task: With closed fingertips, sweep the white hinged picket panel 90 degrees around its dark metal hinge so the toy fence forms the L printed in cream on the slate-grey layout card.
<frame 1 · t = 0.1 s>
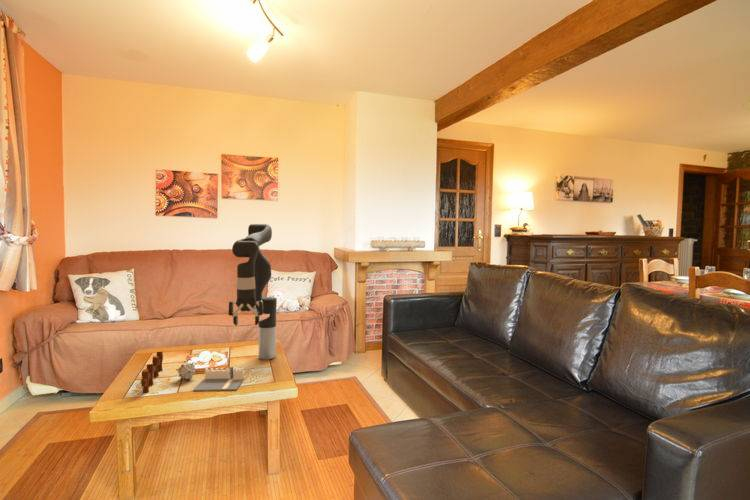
hand: (246, 324, 169), 29 cm above the table, fingers open, 8 cm apart
hinged panel: (219, 372, 182), point 4 cm above the table, hinge at 0.0°
fixed panel: (238, 379, 182), resting on layout card
grey spiky ball: (187, 379, 183), on the table
layout card: (219, 384, 176), on the table
fence: (153, 381, 181), on the table
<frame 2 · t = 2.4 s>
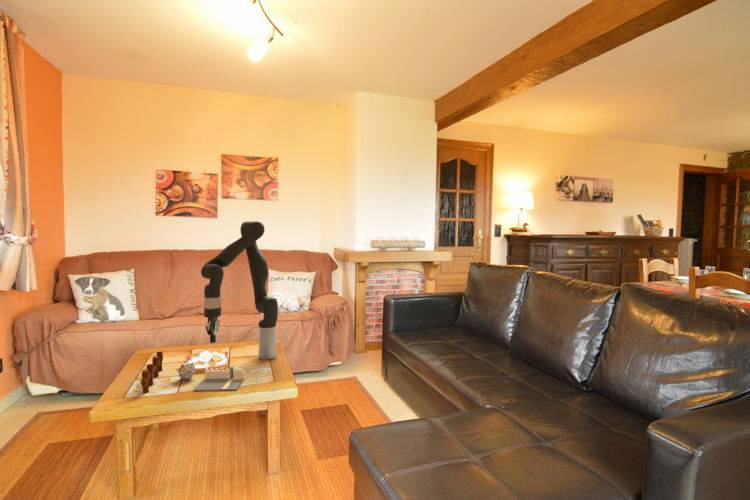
hand: (212, 342, 186), 16 cm above the table, fingers closed
nothing on the table moved.
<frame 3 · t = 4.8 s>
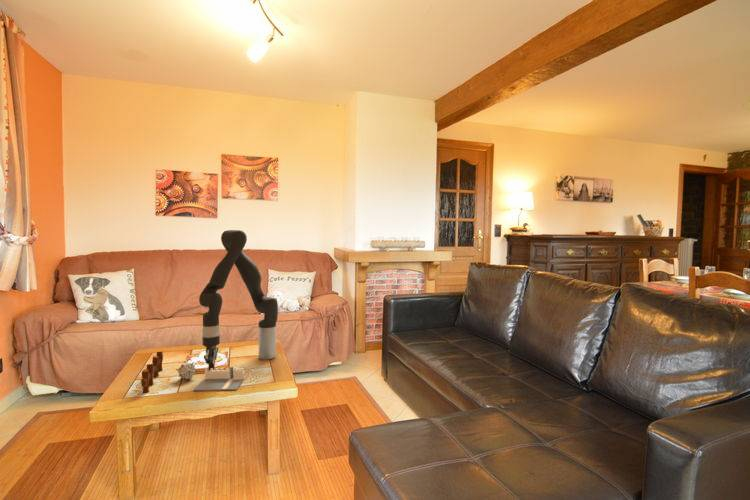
hand: (211, 370, 184), 4 cm above the table, fingers closed
hinged panel: (219, 372, 182), point 4 cm above the table, hinge at 0.0°, touching gripper
everything else where it was.
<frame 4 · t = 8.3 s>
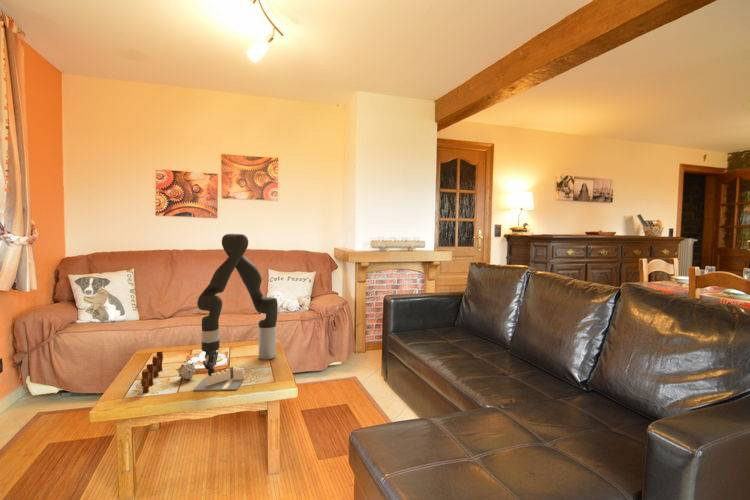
hand: (211, 376, 177), 3 cm above the table, fingers closed
hinged panel: (220, 376, 178), point 3 cm above the table, hinge at 44.7°, touching gripper
everything else where it was.
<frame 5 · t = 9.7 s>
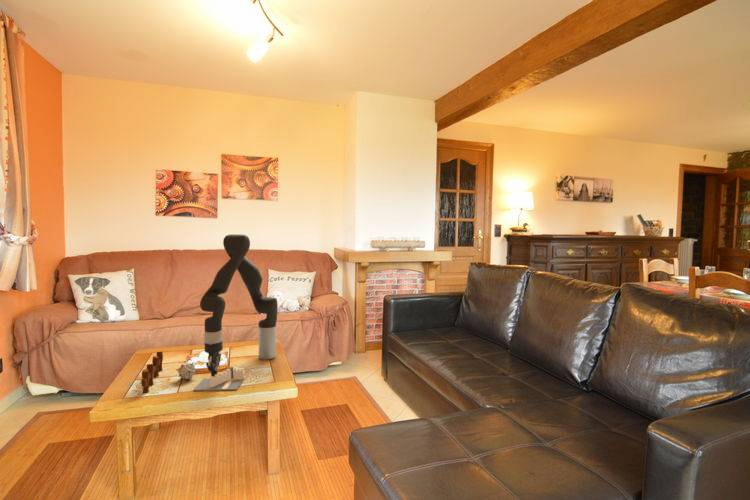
hand: (214, 378, 175), 3 cm above the table, fingers closed
hinged panel: (222, 376, 177), point 4 cm above the table, hinge at 60.9°, touching gripper
everything else where it was.
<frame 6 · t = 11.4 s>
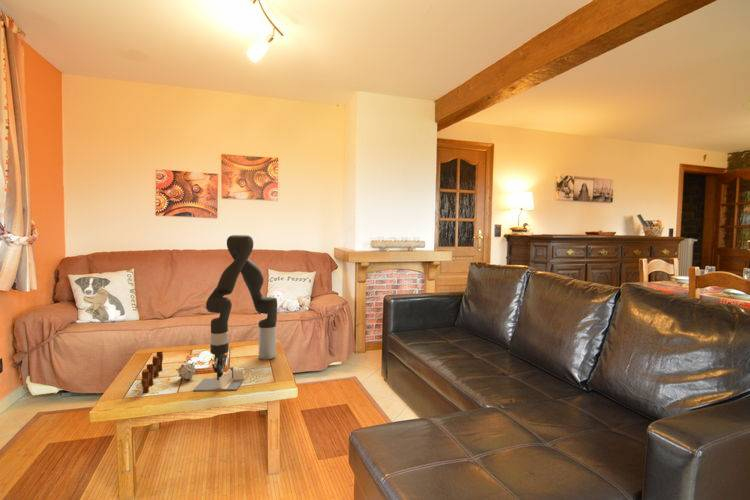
hand: (220, 379, 174), 3 cm above the table, fingers closed
hinged panel: (226, 377, 176), point 4 cm above the table, hinge at 82.3°, touching gripper
everything else where it was.
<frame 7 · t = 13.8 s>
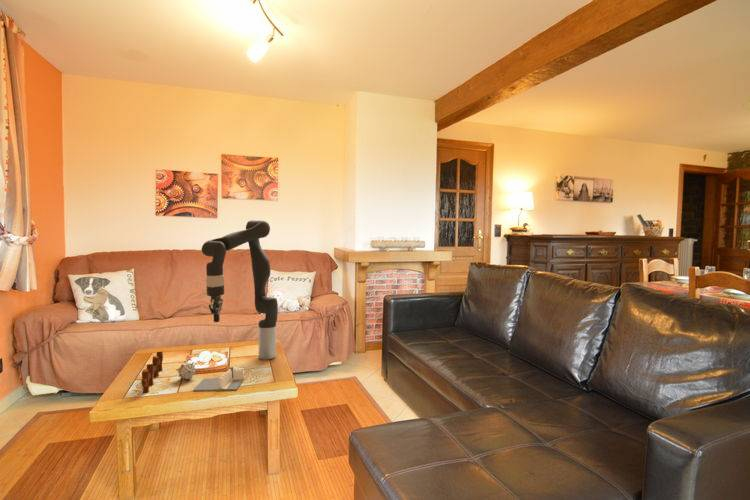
hand: (216, 321, 181), 27 cm above the table, fingers closed
hinged panel: (226, 377, 176), point 4 cm above the table, hinge at 82.6°
everything else where it was.
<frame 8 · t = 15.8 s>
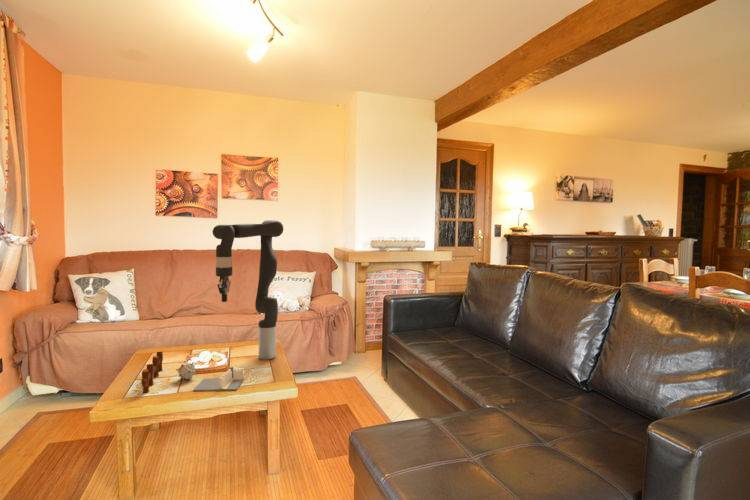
hand: (224, 301, 190), 35 cm above the table, fingers closed
nothing on the table moved.
at the end: hinged panel at +83° (first picture: +0°); the gripper is holding nothing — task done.
